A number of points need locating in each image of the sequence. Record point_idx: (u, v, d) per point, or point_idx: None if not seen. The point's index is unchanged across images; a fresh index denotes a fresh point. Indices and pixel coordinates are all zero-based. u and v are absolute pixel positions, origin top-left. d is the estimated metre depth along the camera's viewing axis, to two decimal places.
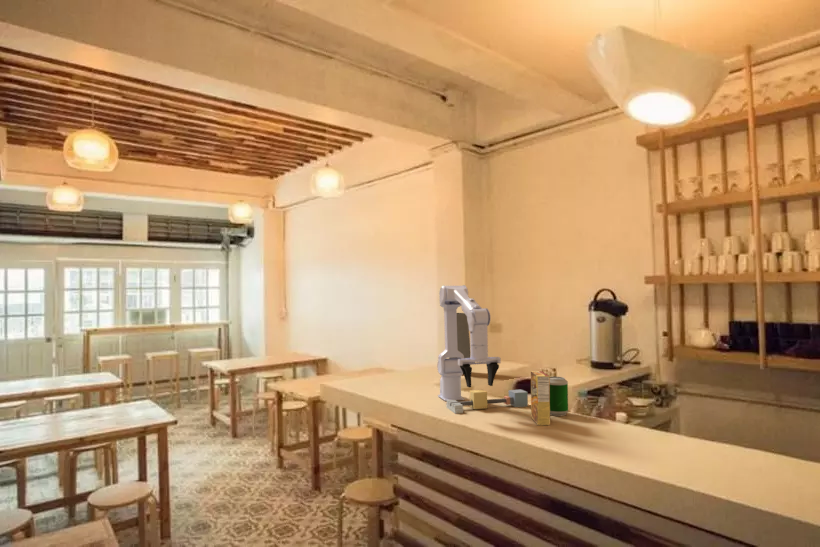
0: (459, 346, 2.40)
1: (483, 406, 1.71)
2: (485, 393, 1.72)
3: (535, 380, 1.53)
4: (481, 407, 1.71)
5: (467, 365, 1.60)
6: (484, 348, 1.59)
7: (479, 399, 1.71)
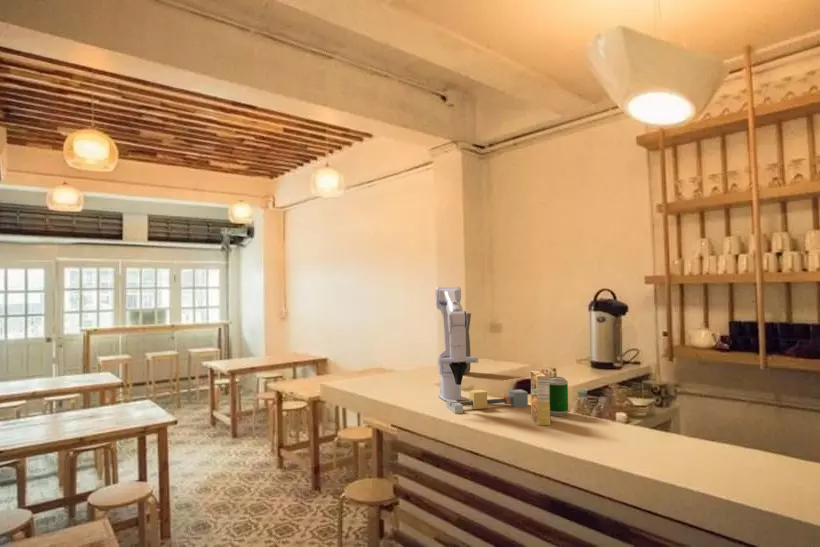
0: None
1: (483, 406, 1.71)
2: (485, 393, 1.72)
3: (535, 380, 1.53)
4: (481, 407, 1.71)
5: (456, 364, 1.70)
6: (462, 348, 1.69)
7: (479, 399, 1.71)
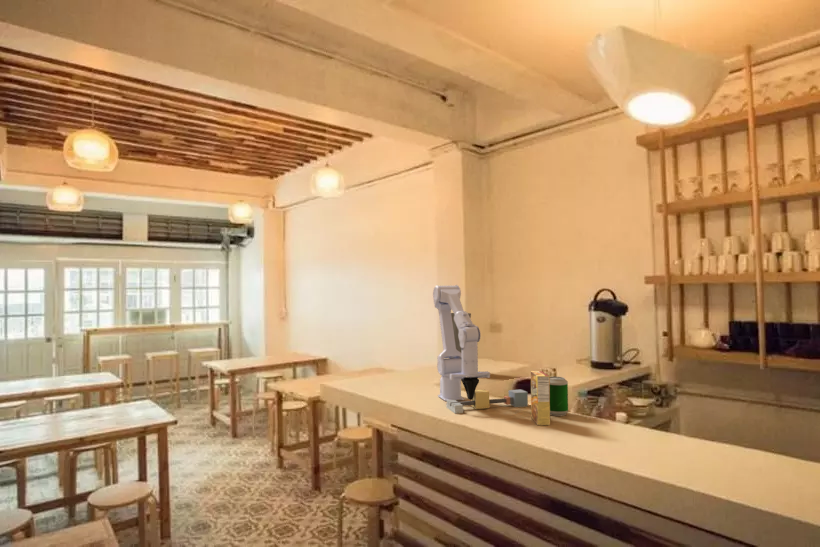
0: (459, 346, 2.40)
1: (485, 406, 1.71)
2: (487, 393, 1.72)
3: (535, 380, 1.53)
4: (483, 407, 1.71)
5: (468, 379, 1.71)
6: (474, 363, 1.70)
7: (481, 399, 1.71)
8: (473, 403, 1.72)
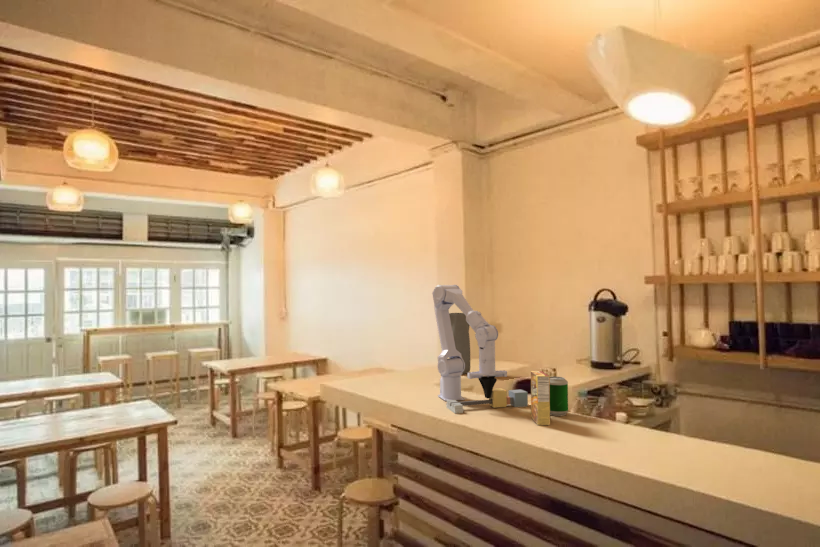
0: (459, 346, 2.40)
1: (502, 404, 1.73)
2: (504, 392, 1.74)
3: (535, 380, 1.53)
4: (501, 405, 1.73)
5: (485, 378, 1.73)
6: (492, 362, 1.72)
7: (499, 398, 1.73)
8: (473, 403, 1.72)
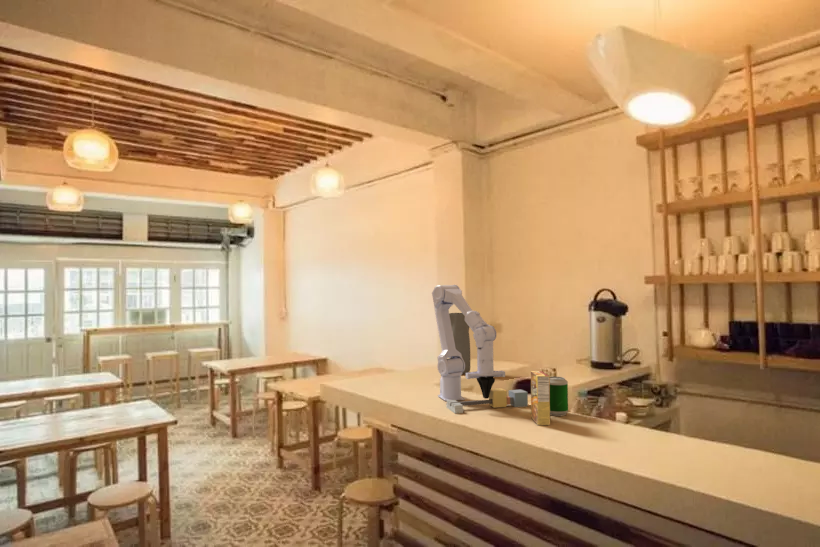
0: (459, 346, 2.40)
1: (502, 404, 1.73)
2: (504, 392, 1.74)
3: (535, 380, 1.53)
4: (501, 405, 1.73)
5: (483, 378, 1.73)
6: (490, 363, 1.72)
7: (499, 398, 1.73)
8: (473, 403, 1.72)
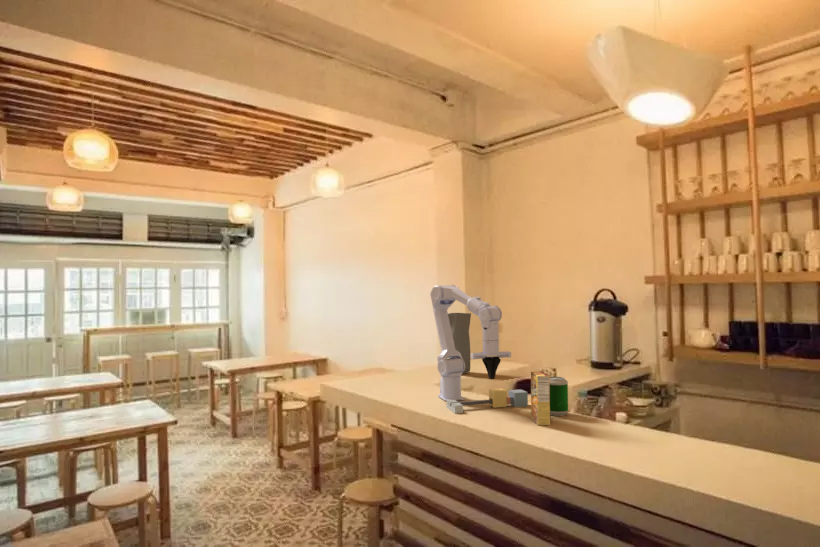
0: (459, 346, 2.40)
1: (502, 404, 1.73)
2: (504, 392, 1.74)
3: (535, 380, 1.53)
4: (501, 405, 1.73)
5: (489, 358, 1.71)
6: (495, 343, 1.70)
7: (499, 398, 1.73)
8: (473, 403, 1.72)
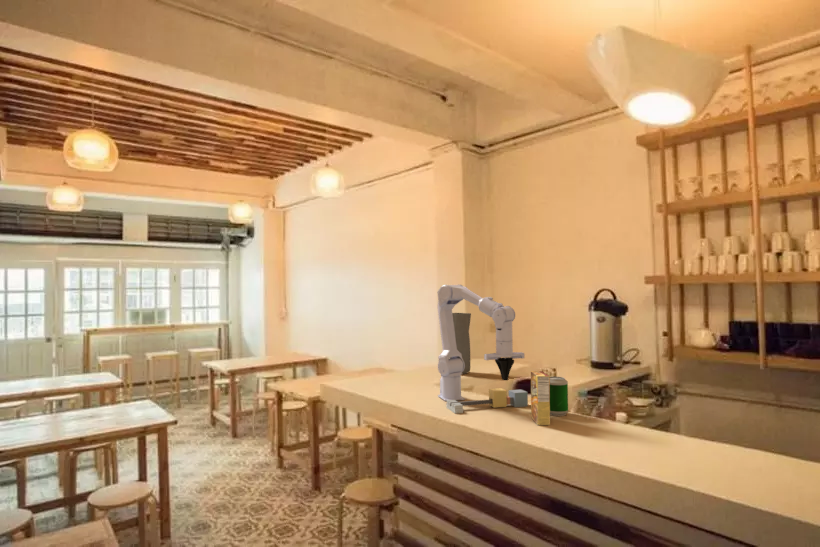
0: (459, 346, 2.40)
1: (502, 404, 1.73)
2: (504, 392, 1.74)
3: (535, 380, 1.53)
4: (501, 405, 1.73)
5: (502, 359, 1.69)
6: (509, 344, 1.68)
7: (499, 398, 1.73)
8: (473, 403, 1.72)
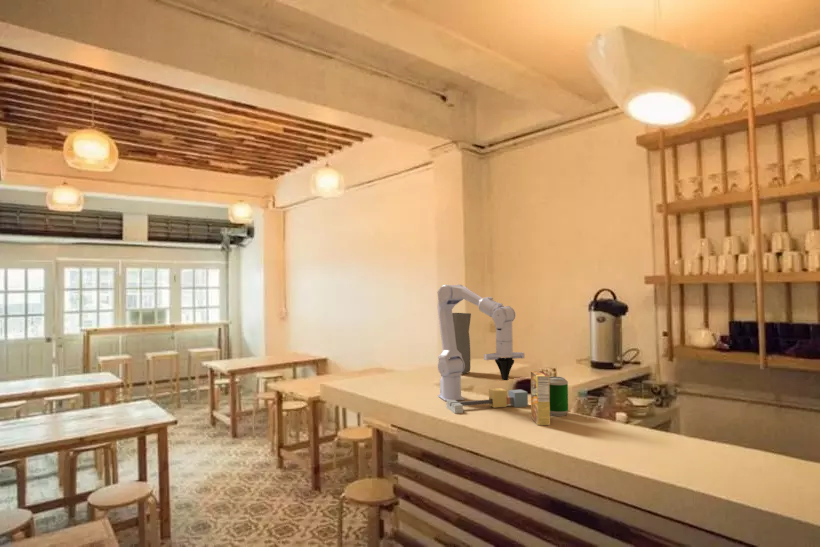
0: (459, 346, 2.40)
1: (502, 404, 1.73)
2: (504, 392, 1.74)
3: (535, 380, 1.53)
4: (501, 405, 1.73)
5: (502, 359, 1.69)
6: (509, 344, 1.68)
7: (499, 398, 1.73)
8: (473, 403, 1.72)
